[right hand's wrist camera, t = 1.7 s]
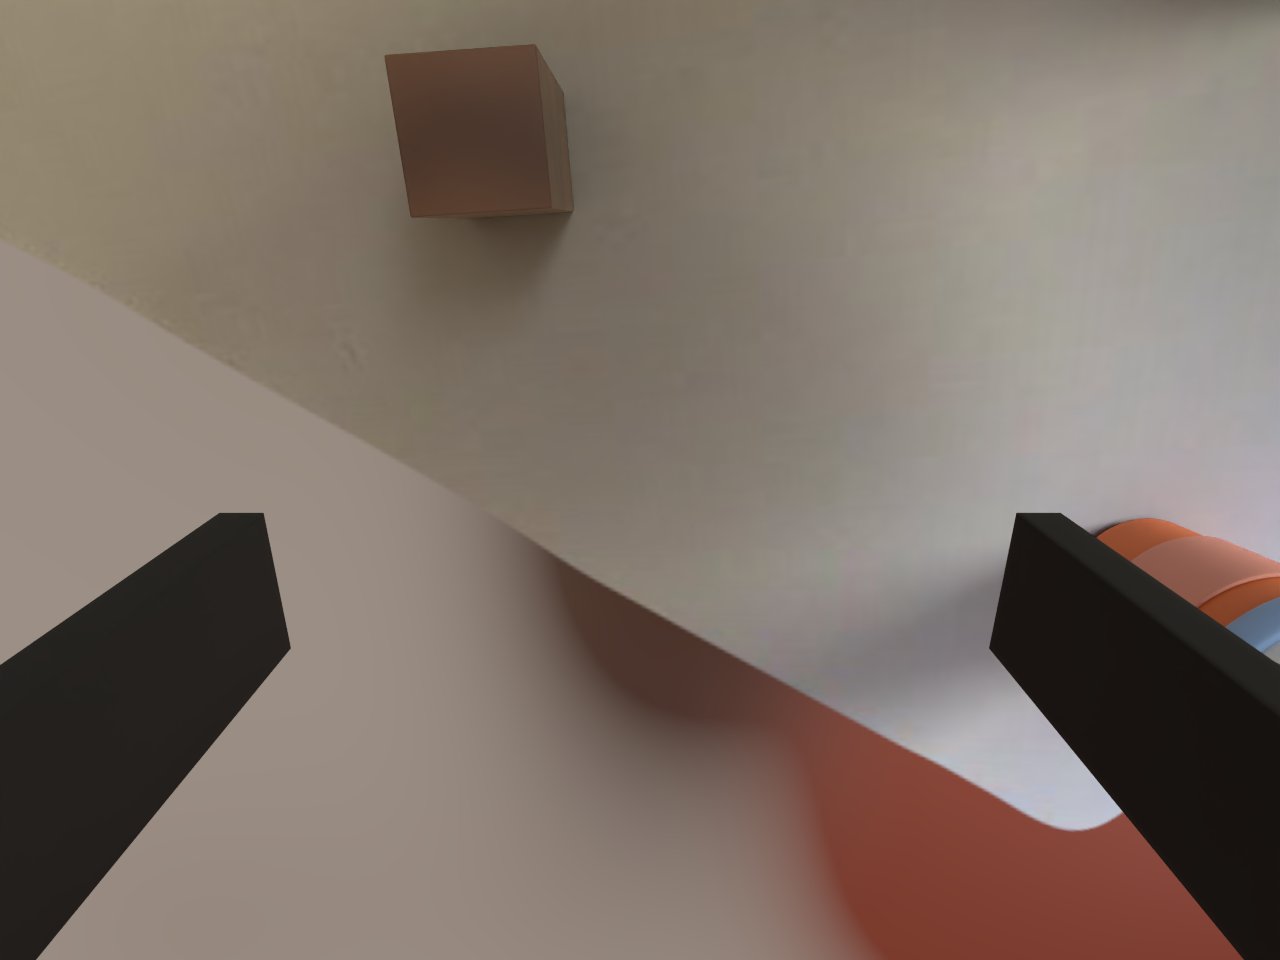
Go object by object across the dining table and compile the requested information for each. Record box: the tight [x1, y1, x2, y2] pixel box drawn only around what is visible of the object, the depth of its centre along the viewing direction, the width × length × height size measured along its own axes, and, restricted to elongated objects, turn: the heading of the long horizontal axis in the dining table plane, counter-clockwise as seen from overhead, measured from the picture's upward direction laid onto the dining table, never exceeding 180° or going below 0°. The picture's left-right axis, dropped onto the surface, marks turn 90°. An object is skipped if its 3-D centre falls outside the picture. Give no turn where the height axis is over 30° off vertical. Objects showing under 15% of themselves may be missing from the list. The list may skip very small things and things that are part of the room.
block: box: [385, 44, 574, 219], centre depth 25 cm, size 4×4×8 cm
